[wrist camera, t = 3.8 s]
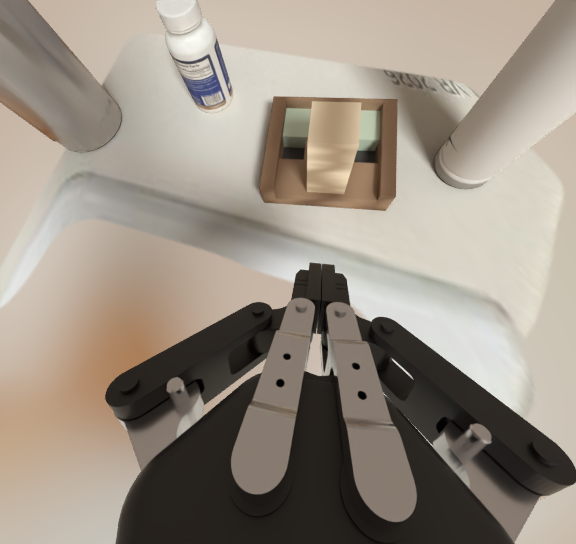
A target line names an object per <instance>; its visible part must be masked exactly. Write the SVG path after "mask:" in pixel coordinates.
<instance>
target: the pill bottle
mask: <svg viewBox="0 0 576 544" xmlns="http://www.w3.org/2000/svg"><path fill="white" fill-rule="evenodd" d="M156 8H157V11H158V13H159V15H160V18H161V20H162V22H163V24H164V26H165V28H166V29H167V31H166V45H167V47H168V50H169V52H170V54H171V56H172V58H173V60H174V62H175V64H176V66H177V68H178V70H179V72H180V74H181V76H182V78H183V80H184V82H185V84H186V86H187V88H188V90H189V92H190V94H191V96H192V98H193V99H194V101H195V103H196V105H197V106H198V108H199V109H201V110H202V111H204V112H208V113H216V112H220V111H222V110H224V109H225V108H226V107H227V106H228V105H229V104H230V103H231V101H232V98H233V90H232V86H231V83H230V80H229V77H228V73H227V70H226V67H225V64H224V60H223V57H222V54H221V51H220V48H219V44H218V41H217V38H216V35H215V32H214V29H213V27H212V25H211V24H210V22H209V21H208V20H207V19H205V18H204V17H202V13H201V9H200V6H199V3H198V1H197V0H158V1H157V3H156Z"/></svg>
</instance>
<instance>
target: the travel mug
mask: <svg viewBox="0 0 576 544" xmlns="http://www.w3.org/2000/svg"><path fill="white" fill-rule="evenodd" d="M575 112H576V0H555V2H554V3H553V4H552V6H551V7H550V8H549V9H548V11H547V12H546V13H545V15H544V16H543V17H542V18H541V20H540V21H539V22H538V24H537V25H536V26H535V27H534V29H533V30H532V31H531V33H530V34H529V35H528V37H527V38H526V39H525V40H524V42H523V43H522V44H521V46H520V47H519V48H518V49H517V51H516V52H515V53H514V55H513V56H512V57H511V58H510V60H509V61H508V62H507V64H506V65H505V66H504V67H503V69H502V70H501V71H500V73H499V74H498V75H497V76H496V78H495V79H494V80H493V82H492V83H491V84H490V85H489V87H488V88H487V89H486V91H485V92H484V93H483V94H482V96H481V97H480V98H479V100H478V101H477V102H476V103H475V105H474V106H473V107H472V109H471V110H470V111H469V113H468V114H467V115H466V116H465V118H464V119H463V120H462V122H461V123H460V124H459V125H458V127H457V128H456V129H455V131H454V132H453V133H452V134H451V136H450V137H449V138H448V140H447V141H446V142H445V144H444V145H443V146H442V147H441V149H440V150H439V151H438V153H437V155H436V157H435V169H436V172H437V174H438V175H439V177H440V178H441V179H442V180H443V181H444V182H445V183H447V184H448V185H450V186H453V187H455V188H459V189H473V188H477V187H479V186H481V185H483V184H484V183H486V182H487V181H488V180H489V179H491V178H492V177H493V176H495V175H496V174H497V173H498V172H500V171H501V170H502V169H504V168H505V167H506V166H507V165H509V164H510V163H511V162H513V161H514V160H515V159H516V158H518V157H519V156H520V155H522V154H523V153H524V152H525V151H527V150H528V149H529V148H531V147H532V146H533V145H534V144H535V143H537V142H538V141H539V140H541V139H542V138H543V137H544V136H546V135H547V134H549V133H550V132H551V131H552V130H554V129H555V128H556V127H557V126H559V125H560V124H561V123H563V122H564V121H565V120H566V119H568V118H569V117H570V116H572V115H573V114H574V113H575Z"/></svg>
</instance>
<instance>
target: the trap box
mask: <svg viewBox="0 0 576 544" xmlns="http://www.w3.org/2000/svg"><path fill="white" fill-rule="evenodd" d="M312 101H321V102H361V118H360V136H359V146H358V150H357V153H356V156H355V159H354V163H353V166H352V169H351V173H350V176H349V179H348V183H347V186H346V189H345V192H344V194H333V193H317V192H307V142H308V133H309V125H310V116H311V107H312ZM396 151H397V99H359V98H316V97H274V98H273V105H272V111H271V118H270V124H269V130H268V137H267V143H266V149H265V156H264V162H263V169H262V175H261V181H260V191H261V194H262V197H263V200H264V202H266V203H281V204H295V205H310V206H325V207H339V208H354V209H368V210H383V211H386V209H387V208H388V206H389V205H390V204H391V202H392V201H393V199H394V198H395V197H396Z"/></svg>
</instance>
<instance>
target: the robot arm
mask: <svg viewBox="0 0 576 544" xmlns="http://www.w3.org/2000/svg"><path fill="white" fill-rule="evenodd" d="M0 102H1V103H2V104H3V105H5V106H6V107H7V108H9V109H10V110H11V111H13V112H14V113H16V114H17V115H18V116H20V117H21V118H23V119H24V120H25V121H27V122H28V123H29V124H31V125H32V126H33V127H35V128H36V129H38V130H39V131H40V132H42V133H43V134H45V135H46V136H47V137H49V138H50V139H52V140H53V141H57V142H59V143H60V144H62V145H63V146H64V147H66V148H67V149H69V150H72V151H75V152H87V151H91V150H94V149H97V148H99V147H101V146H103V145H104V144H106V143H107V142H108V141H109V140H110V139H111V138H112V137H113V136H114V135H115V133H116V132H117V130H118V128H119V126H120V123H121V111H120V108H119V107H118V105H117V104H116V103H115V101H114V100H113V99H112V98H111V97H110V96H109V94H108V93H107V92H106V91H105V90H104V89H103V87H102V86H101V85H100V84H99V83H98V82H97V80H96V79H95V78H94V77H93V76H92V74H91V73H90V72H89V71H88V70H87V69H86V68H85V66H84V65H83V64H82V63H81V62H80V61H79V59H78V58H77V57H76V56H75V55H74V53H73V52H72V51H71V50H70V49H69V48H68V46H67V45H66V44H65V43H64V42H63V41H62V40H61V38H60V37H59V36H58V35H57V34H56V32H55V31H54V30H53V29H52V28H51V27H50V25H49V24H48V23H47V22H46V21H45V20H44V19H43V18H42V16H41V15H40V14H39V13H38V12H37V10H36V9H35V8H34V7H33V6H32V5H31V3H30V2H29V1H28V0H0ZM316 328H317V333H318V334H321V343H320V352H321V366H322V376H316V375H314V374H311V373H309V372H306V368H307V361H308V355H309V350H310V343H311V341H312V337H313V333H316ZM266 358H267V359H266ZM392 358H393V359H394V360H395V361H396V362H397V363H398V364H399V365H401V366H402V367H403V368H404V369H405V370H406V371H407V372H408V373H409V374H410V375H411V376H412V377H413V379H414V380H413V379H412V378H411V377H410V376H408V375H407V374H406V373H405V372H404V371H403V370H402V369H401V368H400V367H399V366H398V365H396V364H395V363H394V362H393V361H392ZM264 359H266V362H265V365H264V369H263V371H262V373H260V374H257V375H255V376H253V377H251V378H250V379H248V380H247V381H245V382H244V383H243V384H241V385H240V386H239V387H238V388H237V389H235V390H234V391H233V392H232V393H231V394H230V395H228V396H227V397H226V398H225V399H223V400H222V401H221V402H220V403H219V404H218V405H216V406H215V407H214V408H213V409H211V410H210V411H209V412H208V413H207V414H205V415H204V416H203V417H202V418H201V416H202V414H203V411H204V405H205V404H206V403H207V402H209V401H210V400H212V399H213V398H214V397H216V396H217V395H218V394H220V393H221V392H222V391H224V390H225V389H226V388H227V387H229V386H230V385H231V384H233V383H234V382H235V381H237V380H238V379H239V378H241V377H242V376H243V375H245V374H246V373H247V372H249V371H250V370H251V369H253V368H254V367H255V366H257V365H258V364H259V363H260V362H262V361H263V360H264ZM383 393H384V394H385V395H386V396H387V397H386V396H385V395H384V394H383ZM105 399H106V402H107V403H108V404H109V406H110V407H111V408H112V410H113V411H114V414H115V416H116V418H117V419H118V420H119V422H120V423H121V424H122V426H123V427H124V428H125V429H126V431H127V432H128V434H129V437H130V440H131V443H132V446H133V449H134V452H135V454H136V457H137V460H138V463H139V466H140V469H141V473H140V474H139V475H138V477H137V478H136V480H135V481H134V483H133V485H132V487H131V488H130V490H129V492H128V494H127V497H126V499H125V502H124V505H123V507H122V511H121V514H120V518H119V523H118V531H117V538H116V544H515V543H514V542H515V541H516V539H517V537H518V535H519V533H520V532H521V530H522V528H523V526H524V524H525V523H526V521H527V518H528V517H529V515H530V514H531V512H532V510H533V508H534V506H535V504H536V503H537V501H539V500H541V499H543V498H545V497H547V496H549V495H551V494H554V493H556V492H558V491H560V490H562V489H564V488H566V487H569V486H571V485H573V484H574V483H575V482H576V469H575V467H574V465H573V463H572V461H571V460H570V458H569V457H568V456H567V455H566V454H565V452H564V451H563V450H562V449H561V448H560V447H559V446H558V445H557V444H556V443H554V442H553V441H552V440H551V439H549V438H548V437H547V436H545V435H544V434H543V433H541V432H540V431H539V430H537V429H536V428H535V427H534V426H532V425H531V424H530V423H528V422H527V421H526V420H524V419H523V418H522V417H521V416H519V415H518V414H517V413H515V412H514V411H513V410H511V409H510V408H509V407H507V406H506V405H505V404H503V403H502V402H501V401H499V400H498V399H497V398H496V397H494V396H493V395H492V394H490V393H489V392H488V391H486V390H485V389H484V388H482V387H481V386H480V385H478V384H477V383H476V382H474V381H473V380H472V379H471V378H469V377H468V376H467V375H465V374H464V373H463V372H461V371H460V370H459V369H457V368H456V367H455V366H453V365H452V364H451V363H449V362H448V361H447V360H446V359H444V358H443V357H442V356H440V355H439V354H438V353H436V352H435V351H434V350H432V349H431V348H430V347H428V346H427V345H426V344H424V343H423V342H422V341H421V340H419V339H418V338H417V337H415V336H414V335H413V334H411V333H410V332H409V331H407V330H406V329H405V328H403V327H402V326H401V325H399V324H398V323H397V322H395V321H394V320H392V319H389V318H386V317H377V318H375V319H373V320H372V322H371V321H368V320H365V319H362V318H360V317H358V316H357V315H356V314H355V313H354V310H353V309H352V307H350V301H349V294H348V286H347V279H346V278H345V277H344V275H343V274H339V273H335V267H334V265H329V264H322V269H321V264H319V263H310V265H309V270H300V271H299V272H298V273H297V274H296V278H295V283H294V288H293V293H292V298H291V301H290V302H289V303H288V305H287V306H286V307H283V308H280V309H273V310H272V308H271V307H270V306H269V305H268V304H265V303H262V302H256V303H252V304H250V305H248V306H246V307H244V308H242V309H240V310H238V311H237V312H235V313H233V314H231V315H229V316H227V317H226V318H224V319H222V320H220V321H218V322H216V323H214V324H213V325H211V326H209V327H207V328H205V329H203V330H202V331H200V332H198V333H196V334H194V335H192V336H190V337H189V338H187V339H185V340H183V341H181V342H180V343H178V344H176V345H174V346H172V347H170V348H168V349H167V350H165V351H163V352H161V353H159V354H157V355H155V356H154V357H152V358H150V359H148V360H146V361H144V362H143V363H141V364H139V365H137V366H135V367H133V368H131V369H130V370H128V371H126V372H124V373H122V374H121V375H119V376H118V377H117V378H116V379H115V380H114V381H113V382H112V383H111V384H110V385H109V387H108V389H107V391H106V395H105ZM406 417H407V418H408V419H409V420H408V419H407V418H406ZM200 418H201V419H200ZM413 425H414V426H415V427H416V428H417V429H418V430H419V431H420V432H421V433H422V434H423V436H425V438H426V439H427V440H428V441H429V442H430V443H431V444H432V445H433V447H432V446H431V445H430V444H429V443H428V441H426V439H425V438H424V437H423V436H422V435H421V433H420V432H419V431H418V430H417V429H416V428H415V427H414V426H413Z"/></svg>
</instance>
